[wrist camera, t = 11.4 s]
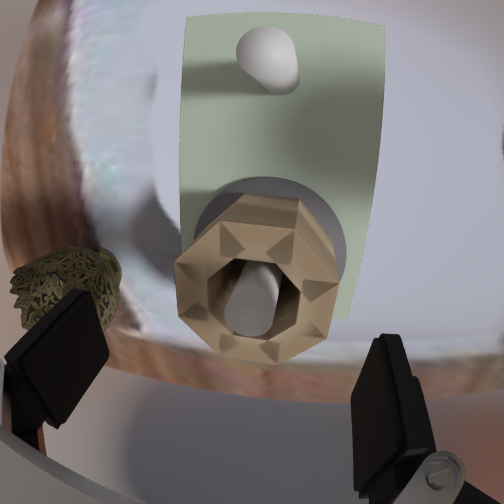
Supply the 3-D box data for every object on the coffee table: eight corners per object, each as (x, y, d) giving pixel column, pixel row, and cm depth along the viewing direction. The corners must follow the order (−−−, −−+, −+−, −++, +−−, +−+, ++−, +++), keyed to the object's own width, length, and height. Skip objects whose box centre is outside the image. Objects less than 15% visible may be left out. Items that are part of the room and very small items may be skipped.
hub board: (195, 24, 14) (128, -23, 7) (379, 32, 13) (423, -22, 6) (192, 292, 22) (143, 366, 15) (344, 312, 20) (353, 400, 13)
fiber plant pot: (66, 270, 24) (7, 316, 17) (87, 204, 21) (11, 244, 14) (128, 321, 25) (78, 382, 17) (160, 262, 22) (99, 326, 14)
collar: (209, 190, 17) (171, 216, 12) (337, 203, 16) (348, 235, 11) (209, 298, 19) (181, 347, 15) (318, 313, 19) (318, 369, 14)
